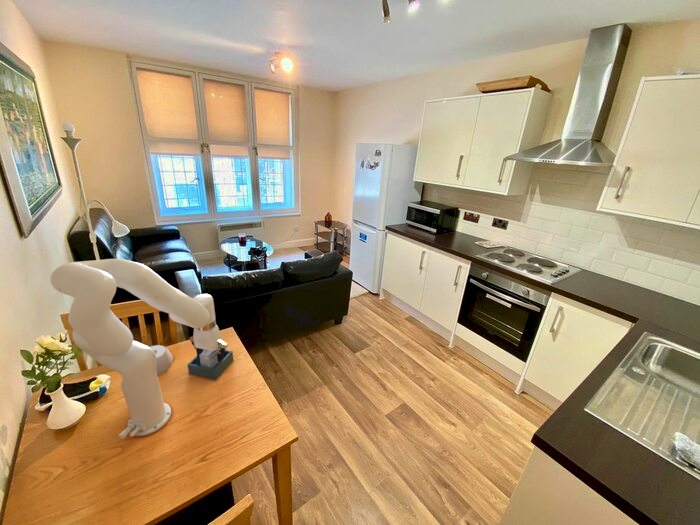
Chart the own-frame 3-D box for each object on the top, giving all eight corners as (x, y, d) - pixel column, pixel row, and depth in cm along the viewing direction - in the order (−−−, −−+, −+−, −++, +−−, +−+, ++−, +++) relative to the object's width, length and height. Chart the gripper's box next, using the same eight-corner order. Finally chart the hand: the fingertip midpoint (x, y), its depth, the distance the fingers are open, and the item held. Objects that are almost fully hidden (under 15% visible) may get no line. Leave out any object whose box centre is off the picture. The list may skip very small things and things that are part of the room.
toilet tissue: (177, 355, 130) (174, 339, 127) (161, 377, 118) (157, 360, 115) (156, 354, 129) (152, 339, 126) (138, 376, 117) (133, 360, 114)
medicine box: (210, 372, 121) (208, 356, 118) (201, 370, 122) (198, 354, 118) (222, 360, 128) (220, 344, 125) (213, 358, 129) (211, 342, 126)
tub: (215, 380, 118) (214, 370, 116) (189, 374, 120) (187, 364, 118) (233, 359, 130) (232, 350, 128) (208, 354, 132) (207, 345, 130)
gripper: (180, 324, 114) (186, 358, 121) (219, 332, 112) (223, 367, 118) (193, 315, 121) (198, 347, 128) (230, 322, 118) (233, 355, 125)
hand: (210, 357), depth 123 cm, fingers open, 9 cm apart
